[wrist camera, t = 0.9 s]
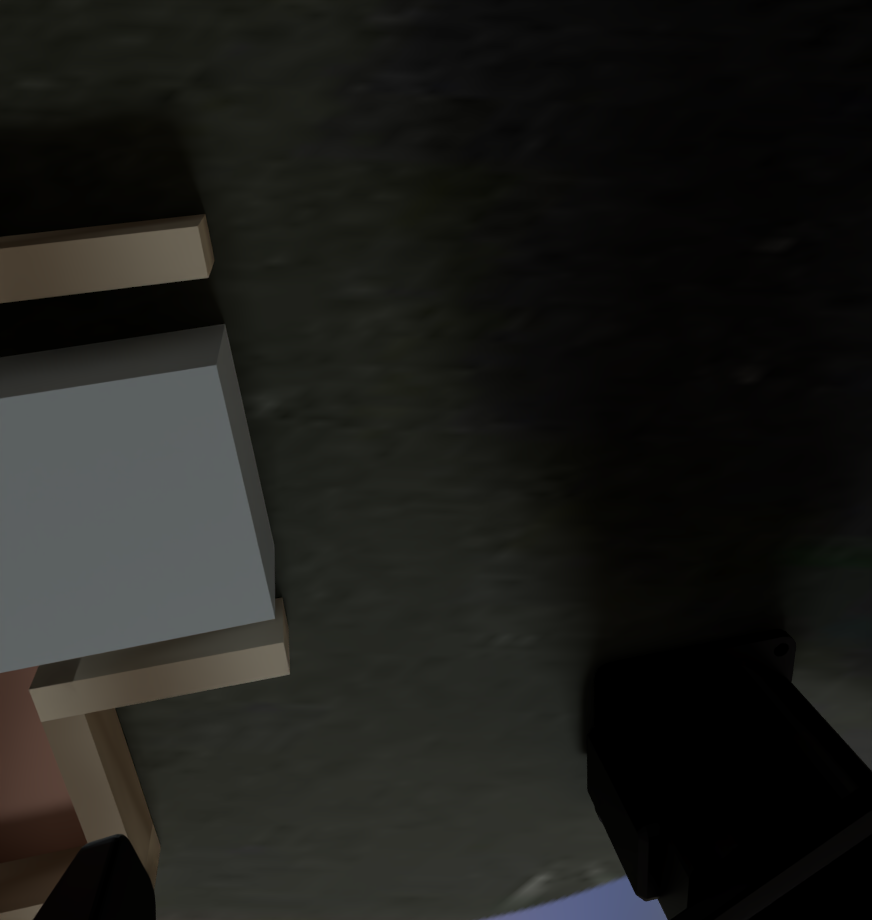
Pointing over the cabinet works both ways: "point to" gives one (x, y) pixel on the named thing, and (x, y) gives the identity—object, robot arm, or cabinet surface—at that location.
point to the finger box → (115, 672)
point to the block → (127, 498)
